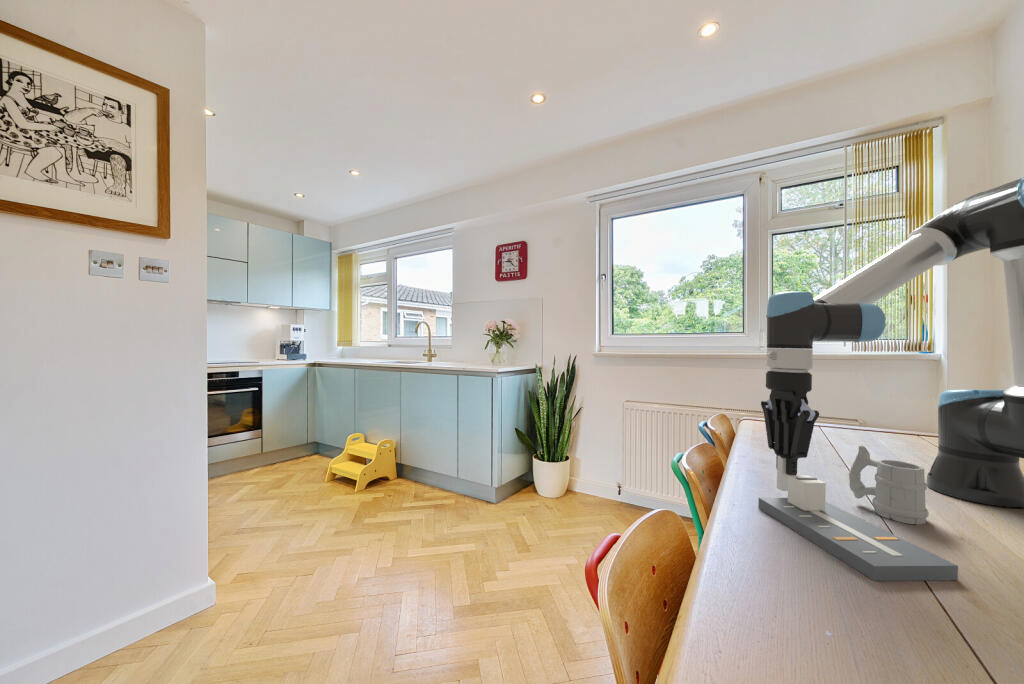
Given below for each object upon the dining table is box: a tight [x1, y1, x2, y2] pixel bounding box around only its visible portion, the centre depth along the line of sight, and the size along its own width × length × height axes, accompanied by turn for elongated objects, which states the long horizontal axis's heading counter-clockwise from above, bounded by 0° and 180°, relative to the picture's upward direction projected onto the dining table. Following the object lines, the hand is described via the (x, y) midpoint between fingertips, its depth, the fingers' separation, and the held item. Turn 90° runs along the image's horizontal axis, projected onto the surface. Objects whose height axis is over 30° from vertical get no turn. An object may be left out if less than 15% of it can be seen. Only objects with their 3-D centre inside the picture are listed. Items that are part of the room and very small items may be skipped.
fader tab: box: [787, 475, 827, 511], centre depth 74 cm, size 4×4×5 cm
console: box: [757, 497, 959, 582], centre depth 67 cm, size 12×24×2 cm, turn 3°
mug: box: [848, 444, 929, 526], centre depth 78 cm, size 8×12×12 cm, turn 28°
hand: (786, 489), depth 79 cm, fingers closed
